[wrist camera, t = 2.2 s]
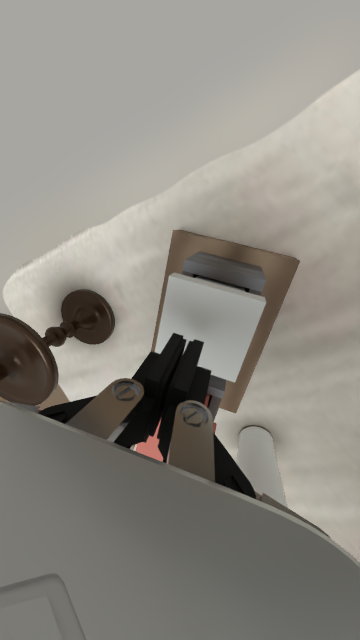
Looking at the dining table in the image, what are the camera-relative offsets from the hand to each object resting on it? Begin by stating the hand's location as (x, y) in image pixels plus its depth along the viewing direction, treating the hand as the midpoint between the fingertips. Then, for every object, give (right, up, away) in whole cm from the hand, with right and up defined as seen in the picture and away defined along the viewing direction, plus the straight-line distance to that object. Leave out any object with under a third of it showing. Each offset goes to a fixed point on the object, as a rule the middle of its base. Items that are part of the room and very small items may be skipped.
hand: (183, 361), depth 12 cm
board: (+4, +2, +20) cm, 21 cm away
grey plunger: (+4, +4, +11) cm, 13 cm away
